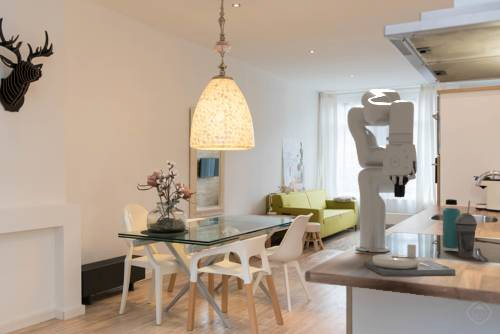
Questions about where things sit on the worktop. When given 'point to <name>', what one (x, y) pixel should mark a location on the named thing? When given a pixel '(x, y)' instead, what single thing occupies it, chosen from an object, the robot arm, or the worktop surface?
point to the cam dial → (398, 259)
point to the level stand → (413, 269)
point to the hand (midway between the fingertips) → (399, 196)
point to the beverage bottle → (450, 225)
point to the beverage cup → (465, 233)
